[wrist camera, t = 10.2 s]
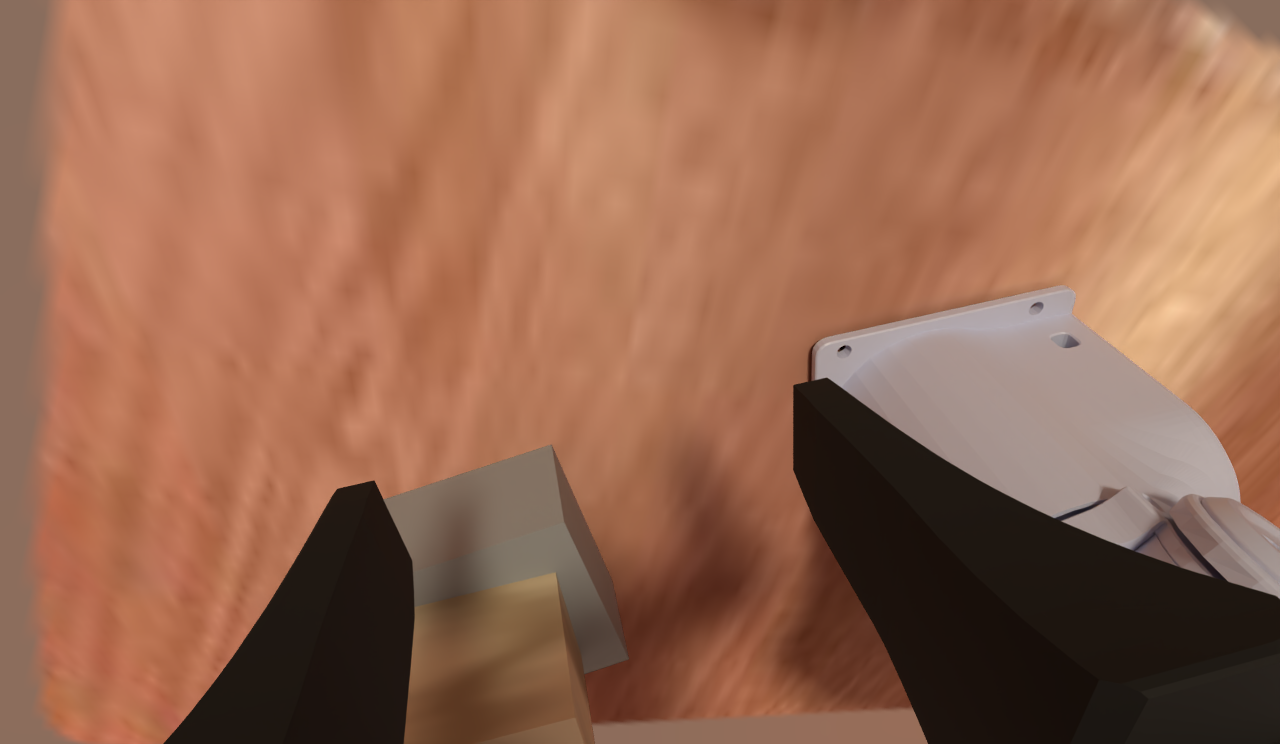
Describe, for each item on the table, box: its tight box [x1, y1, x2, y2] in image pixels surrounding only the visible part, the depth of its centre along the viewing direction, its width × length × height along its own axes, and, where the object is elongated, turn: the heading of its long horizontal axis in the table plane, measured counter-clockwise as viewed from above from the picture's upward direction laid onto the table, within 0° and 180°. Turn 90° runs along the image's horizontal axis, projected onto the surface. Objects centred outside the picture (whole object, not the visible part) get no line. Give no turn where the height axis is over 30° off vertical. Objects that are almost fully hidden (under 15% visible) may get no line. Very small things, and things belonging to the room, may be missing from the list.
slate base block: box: [384, 445, 629, 674], centre depth 27 cm, size 8×8×4 cm
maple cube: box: [404, 572, 595, 744], centre depth 24 cm, size 5×5×5 cm
